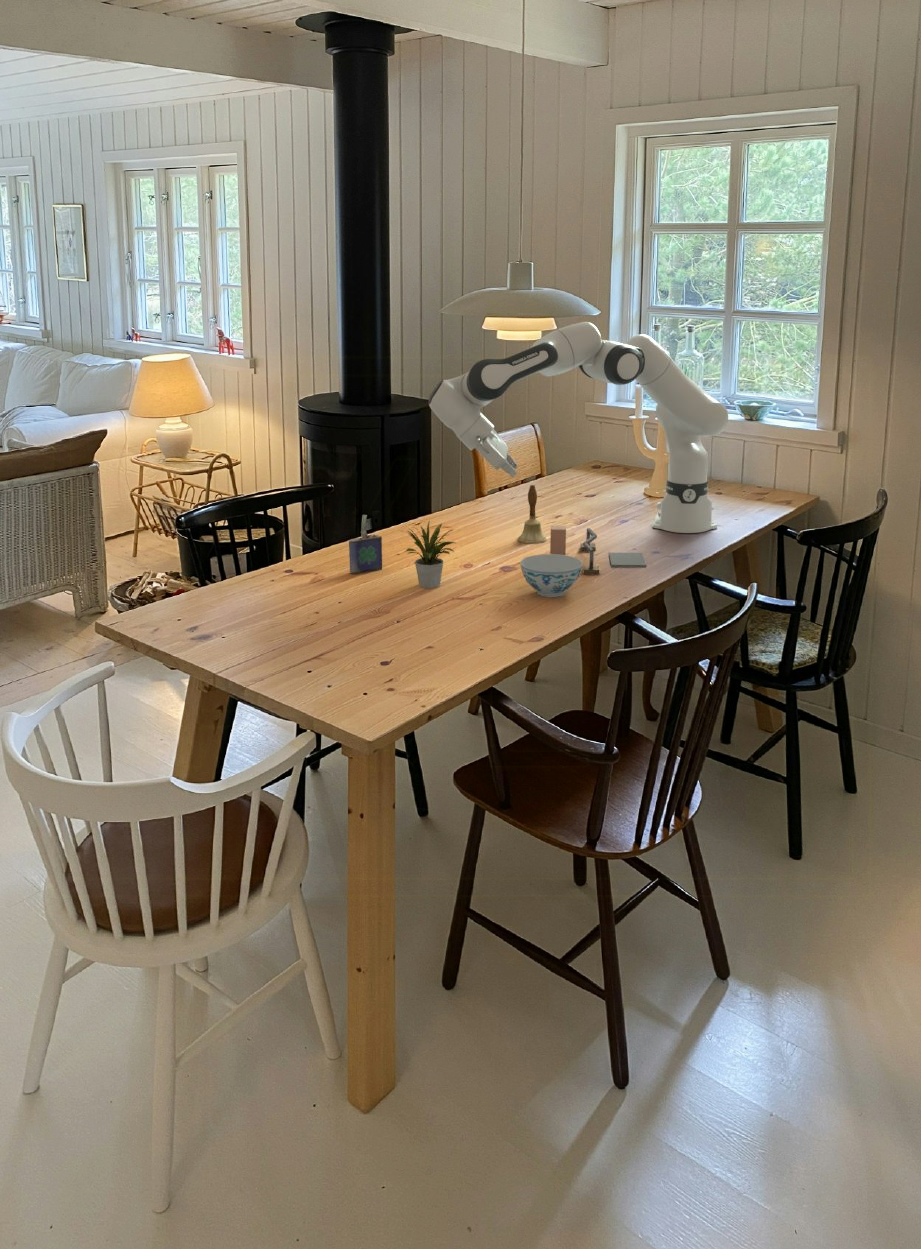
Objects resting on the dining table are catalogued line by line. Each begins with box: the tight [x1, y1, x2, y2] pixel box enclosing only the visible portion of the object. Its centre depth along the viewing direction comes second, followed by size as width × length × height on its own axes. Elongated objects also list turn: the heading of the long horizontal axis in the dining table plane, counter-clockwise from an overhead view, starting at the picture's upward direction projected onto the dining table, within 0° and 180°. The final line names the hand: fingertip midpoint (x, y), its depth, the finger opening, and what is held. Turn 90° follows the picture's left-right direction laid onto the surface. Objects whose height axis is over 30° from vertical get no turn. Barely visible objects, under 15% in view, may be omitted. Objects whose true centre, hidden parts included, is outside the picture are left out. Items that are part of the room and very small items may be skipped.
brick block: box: [549, 525, 567, 555], centre depth 293 cm, size 4×4×9 cm
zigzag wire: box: [579, 527, 600, 575], centre depth 293 cm, size 26×4×6 cm, turn 176°
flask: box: [348, 530, 383, 575], centre depth 285 cm, size 9×3×11 cm, turn 121°
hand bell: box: [517, 484, 547, 545], centre depth 312 cm, size 8×8×16 cm
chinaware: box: [519, 553, 583, 598], centre depth 266 cm, size 15×15×8 cm
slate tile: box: [608, 551, 647, 568], centre depth 293 cm, size 12×9×1 cm
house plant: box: [401, 520, 456, 589], centre depth 270 cm, size 14×14×16 cm
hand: (515, 471), depth 287 cm, fingers open, 8 cm apart
